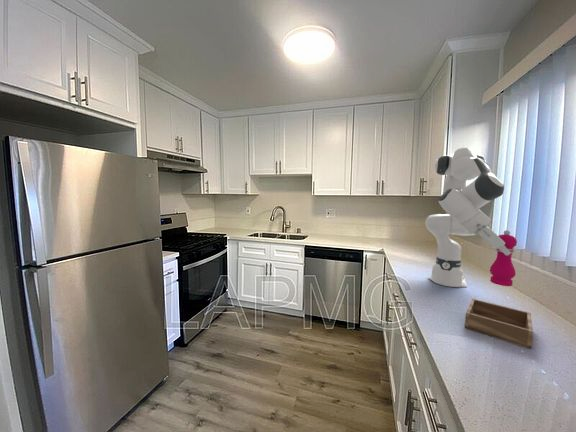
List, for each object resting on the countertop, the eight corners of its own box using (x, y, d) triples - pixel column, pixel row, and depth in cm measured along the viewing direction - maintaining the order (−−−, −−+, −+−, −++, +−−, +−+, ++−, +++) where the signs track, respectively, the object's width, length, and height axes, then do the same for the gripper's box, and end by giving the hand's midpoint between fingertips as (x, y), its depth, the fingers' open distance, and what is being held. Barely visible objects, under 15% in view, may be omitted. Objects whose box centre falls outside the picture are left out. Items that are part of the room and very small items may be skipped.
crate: (470, 311, 107) (472, 298, 106) (528, 327, 95) (530, 312, 94) (464, 328, 93) (465, 312, 93) (531, 349, 81) (533, 331, 81)
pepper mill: (487, 283, 92) (493, 230, 90) (489, 278, 98) (494, 228, 96) (513, 288, 87) (520, 232, 85) (514, 283, 93) (520, 230, 91)
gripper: (488, 220, 85) (523, 252, 81) (481, 216, 102) (509, 242, 98) (470, 232, 88) (503, 263, 84) (466, 226, 105) (493, 252, 101)
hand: (506, 252), depth 91 cm, fingers closed on pepper mill, 5 cm apart
